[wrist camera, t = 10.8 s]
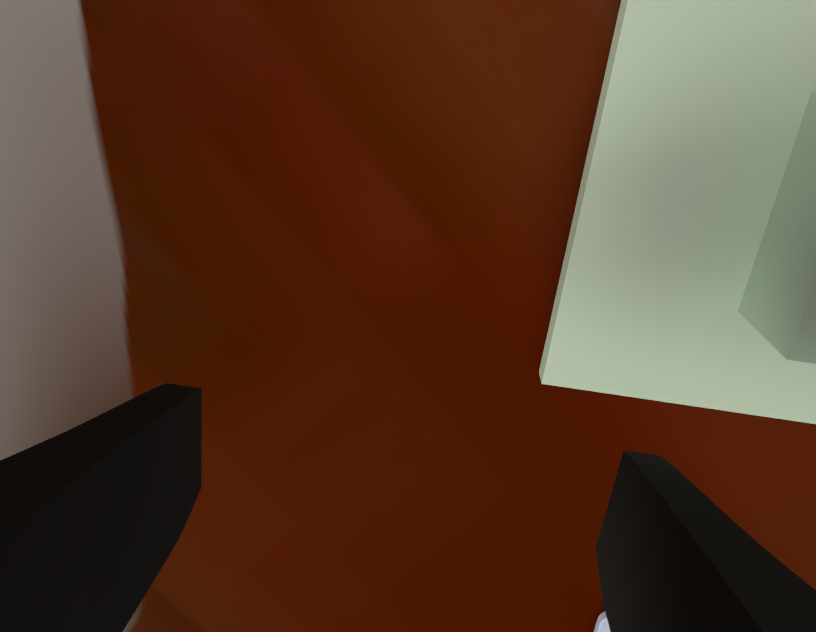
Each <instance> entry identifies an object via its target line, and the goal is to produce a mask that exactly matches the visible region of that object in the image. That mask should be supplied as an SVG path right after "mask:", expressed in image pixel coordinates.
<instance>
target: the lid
mask: <svg viewBox="0 0 816 632" xmlns="http://www.w3.org/2000/svg"><path fill="white" fill-rule="evenodd" d="M539 374H540V379H541V384H547V385H554V386H560V387H567V388H574V389H581V390H588V391H594V392H601V393H608V394H615V395H622V396H628V397H635V398H642V399H649V400H655V401H662V402H669V403H676V404H683V405H689V406H696V407H703V408H710V409H717V410H723V411H730V412H737V413H744V414H751V415H757V416H764V417H771V418H778V419H785V420H791V421H798V422H805V423H812V424H816V0H621V4H620V9H619V13H618V18H617V22H616V27H615V31H614V36H613V40H612V45H611V49H610V54H609V58H608V63H607V67H606V72H605V76H604V81H603V85H602V90H601V94H600V99H599V104H598V108H597V113H596V117H595V122H594V126H593V131H592V135H591V140H590V144H589V149H588V153H587V158H586V162H585V167H584V171H583V176H582V180H581V185H580V189H579V194H578V198H577V203H576V207H575V212H574V216H573V221H572V225H571V230H570V234H569V239H568V243H567V248H566V252H565V257H564V261H563V266H562V270H561V275H560V279H559V284H558V288H557V293H556V297H555V302H554V306H553V311H552V315H551V320H550V324H549V329H548V333H547V338H546V342H545V347H544V351H543V356H542V361H541V365H540V370H539Z"/></svg>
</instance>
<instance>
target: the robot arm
mask: <svg viewBox="0 0 816 632" xmlns="http://www.w3.org/2000/svg"><path fill="white" fill-rule="evenodd" d="M201 406H202V388H195V387H188V386H181V385H175V384H168V383H166V384H164V385H161V386H159V387H156V388H154V389H152V390H150V391H148V392H145V393H143V394H141V395H139V396H137V397H135V398H133V399H131V400H129V401H127V402H125V403H124V404H121V405H119V406H117V407H115V408H113V409H111V410H109V411H107V412H105V413H103V414H101V415H99V416H97V417H95V418H93V419H91V420H89V421H87V422H85V423H83V424H81V425H79V426H77V427H75V428H73V429H71V430H68V431H66V432H64V433H62V434H60V435H58V436H55V437H53V438H51V439H48V440H46V441H44V442H42V443H39V444H37V445H35V446H33V447H30V448H28V449H26V450H24V451H21V452H19V453H17V454H15V455H12V456H10V457H8V458H6V459H3V460H0V632H122V631H123V630H124V628H125V627H126V625H127V623H128V622H129V620H130V618H131V617H132V615H133V614H134V612H135V610H136V609H137V607H138V605H139V604H140V602H141V600H142V599H143V597H144V596H145V594H146V592H147V591H148V589H149V587H150V586H151V584H152V583H153V581H154V579H155V578H156V576H157V574H158V573H159V571H160V569H161V568H162V566H163V564H164V563H165V561H166V559H167V558H168V556H169V554H170V553H171V551H172V549H173V548H174V546H175V544H176V543H177V541H178V539H179V537H180V535H181V533H182V531H183V528H184V526H185V524H186V522H187V520H188V517H189V515H190V513H191V510H192V508H193V506H194V503H195V501H196V499H197V496H198V494H199V491H200V489H201ZM596 551H597V560H598V568H599V577H600V584H601V591H602V598H603V604H604V608H605V611H604V612H603V613H601V614H600V615H599V617H598V620H597V623H596V626H595V629H594V632H816V590H815V589H813V588H812V587H811V586H809V585H808V584H807V583H806V582H804V581H803V580H802V579H801V578H799V577H798V576H797V575H796V574H795V573H793V572H792V571H791V570H790V569H788V568H787V567H786V566H785V565H784V564H782V563H781V562H780V561H779V560H777V559H776V558H775V557H774V556H773V555H771V554H770V553H769V552H768V551H767V550H766V549H764V548H763V547H762V546H761V545H760V544H759V543H757V542H756V541H755V540H754V539H753V538H752V537H751V536H749V535H748V534H747V533H746V532H745V531H744V530H743V529H742V528H740V527H739V526H738V525H737V524H736V523H735V522H734V521H733V520H732V519H730V518H729V517H728V516H727V515H726V514H725V513H724V512H723V511H722V510H721V509H719V508H718V507H717V506H716V505H715V504H714V503H713V502H712V501H711V500H710V499H709V498H708V497H706V496H705V495H704V494H703V493H702V492H701V491H700V490H699V489H698V488H697V487H696V486H695V485H694V484H692V483H691V482H690V481H689V480H688V479H687V478H686V477H685V476H684V475H683V474H681V473H680V472H679V471H678V470H677V469H676V468H675V467H674V466H672V465H671V464H670V463H669V462H668V461H666V460H665V459H664V458H663V457H661V456H657V455H651V454H644V453H637V452H630V451H624V452H623V455H622V459H621V462H620V466H619V469H618V473H617V476H616V480H615V483H614V487H613V490H612V494H611V497H610V500H609V504H608V507H607V511H606V514H605V518H604V521H603V525H602V528H601V532H600V535H599V539H598V542H597V545H596Z"/></svg>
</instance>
